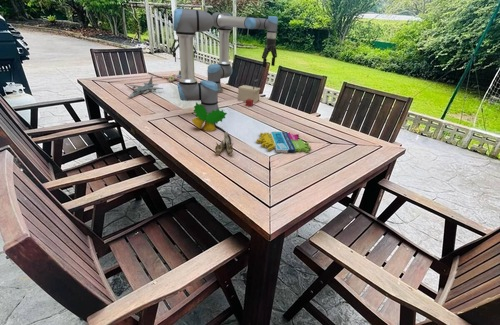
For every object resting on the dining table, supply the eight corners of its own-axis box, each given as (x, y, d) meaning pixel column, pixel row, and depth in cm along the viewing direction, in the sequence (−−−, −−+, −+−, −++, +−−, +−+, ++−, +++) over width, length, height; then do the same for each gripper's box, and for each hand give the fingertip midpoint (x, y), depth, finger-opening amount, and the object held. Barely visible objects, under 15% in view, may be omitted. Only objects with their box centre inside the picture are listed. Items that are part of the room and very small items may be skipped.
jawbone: (234, 135, 144) (233, 125, 135) (233, 160, 138) (232, 151, 129) (217, 135, 144) (216, 125, 135) (216, 160, 138) (214, 150, 129)
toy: (194, 71, 284) (182, 76, 258) (194, 78, 288) (182, 83, 262) (171, 69, 289) (156, 73, 263) (171, 75, 293) (157, 80, 267)
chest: (258, 100, 227) (259, 89, 222) (253, 103, 219) (254, 91, 214) (243, 97, 232) (243, 86, 228) (237, 100, 225) (238, 88, 220)
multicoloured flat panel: (313, 150, 142) (258, 149, 139) (312, 153, 143) (258, 152, 140) (301, 132, 164) (254, 130, 161) (301, 134, 165) (254, 133, 162)
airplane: (122, 88, 234) (120, 76, 229) (158, 85, 247) (157, 74, 242) (127, 100, 206) (124, 88, 201) (167, 97, 219) (166, 85, 214)
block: (253, 105, 214) (253, 99, 211) (250, 106, 210) (250, 101, 208) (248, 104, 215) (248, 98, 213) (245, 105, 212) (245, 100, 209)
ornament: (218, 133, 171) (224, 110, 169) (221, 134, 163) (227, 111, 161) (186, 125, 162) (192, 101, 160) (189, 126, 155) (195, 101, 153)
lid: (260, 89, 222) (261, 79, 218) (255, 91, 214) (256, 81, 210) (243, 86, 228) (244, 76, 223) (238, 88, 220) (238, 78, 216)
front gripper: (198, 33, 207) (199, 61, 218) (165, 31, 201) (168, 60, 211) (199, 33, 201) (200, 62, 211) (165, 32, 194) (168, 62, 205)
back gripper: (267, 39, 196) (264, 68, 206) (282, 38, 214) (279, 65, 225) (258, 38, 200) (256, 67, 210) (275, 37, 218) (272, 64, 228)
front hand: (184, 61), depth 211 cm, fingers open, 13 cm apart
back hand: (268, 66), depth 217 cm, fingers open, 13 cm apart
